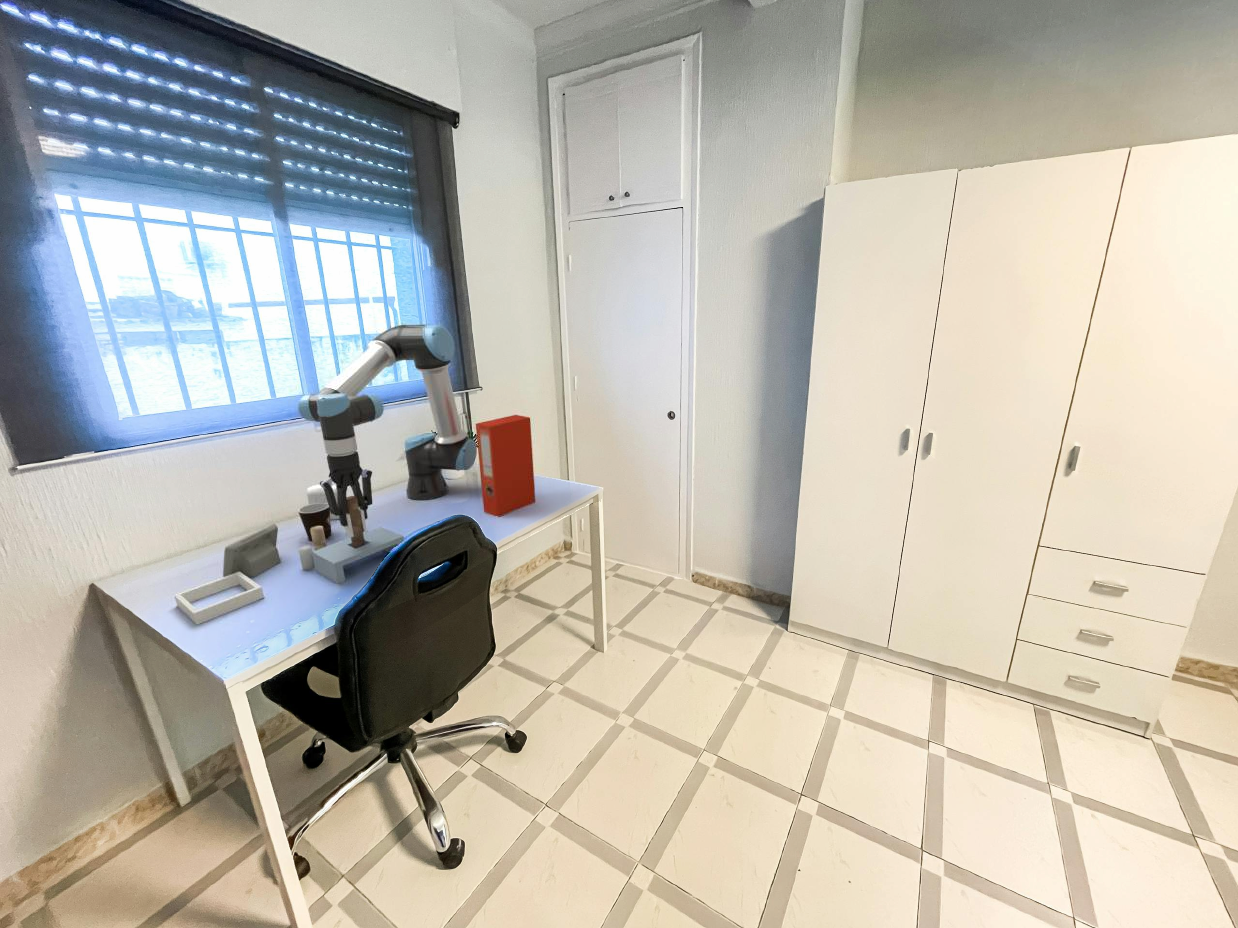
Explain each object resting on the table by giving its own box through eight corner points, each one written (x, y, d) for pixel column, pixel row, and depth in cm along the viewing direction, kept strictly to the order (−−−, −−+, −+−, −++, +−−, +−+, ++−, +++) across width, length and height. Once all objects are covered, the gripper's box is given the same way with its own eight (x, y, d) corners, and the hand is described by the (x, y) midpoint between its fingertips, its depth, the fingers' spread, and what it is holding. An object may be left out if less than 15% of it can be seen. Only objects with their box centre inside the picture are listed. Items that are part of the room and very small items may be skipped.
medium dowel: (325, 552, 154) (319, 524, 151) (330, 555, 152) (324, 527, 149) (314, 556, 151) (308, 528, 149) (319, 559, 150) (313, 531, 147)
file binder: (536, 502, 190) (530, 417, 180) (498, 517, 177) (490, 426, 168) (521, 497, 195) (514, 414, 185) (484, 512, 182) (475, 423, 172)
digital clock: (274, 553, 154) (266, 520, 151) (294, 558, 151) (286, 525, 148) (215, 579, 140) (205, 543, 137) (236, 585, 136) (227, 549, 133)
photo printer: (346, 515, 182) (340, 481, 178) (341, 519, 178) (335, 486, 174) (315, 517, 180) (308, 483, 177) (310, 521, 176) (302, 487, 173)
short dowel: (312, 563, 147) (308, 544, 146) (317, 566, 146) (313, 547, 144) (300, 568, 145) (296, 548, 143) (305, 571, 143) (301, 551, 141)
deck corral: (242, 581, 138) (239, 571, 137) (264, 597, 130) (261, 586, 130) (177, 605, 128) (173, 594, 127) (197, 624, 120) (193, 613, 119)
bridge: (383, 544, 158) (380, 526, 157) (406, 554, 152) (403, 536, 150) (316, 571, 143) (311, 551, 141) (337, 583, 136) (333, 563, 134)
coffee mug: (321, 543, 160) (315, 513, 157) (298, 541, 161) (291, 512, 158) (347, 528, 170) (342, 500, 168) (325, 526, 172) (319, 498, 169)
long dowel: (361, 544, 148) (353, 495, 143) (367, 547, 146) (359, 497, 142) (350, 548, 145) (341, 498, 141) (356, 551, 144) (347, 500, 139)
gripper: (364, 444, 146) (376, 520, 153) (303, 457, 133) (320, 540, 140) (378, 447, 142) (391, 526, 149) (317, 462, 129) (334, 547, 136)
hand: (356, 533), depth 144 cm, fingers closed on long dowel, 3 cm apart
